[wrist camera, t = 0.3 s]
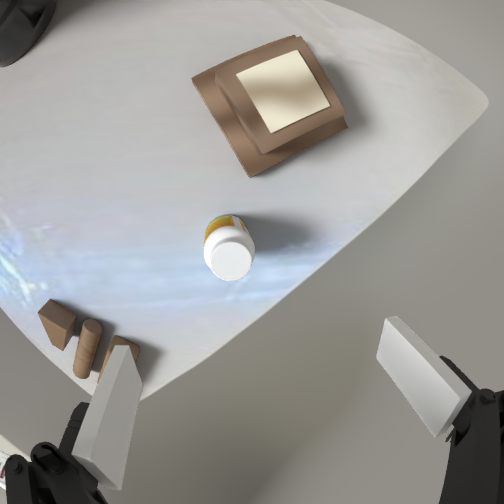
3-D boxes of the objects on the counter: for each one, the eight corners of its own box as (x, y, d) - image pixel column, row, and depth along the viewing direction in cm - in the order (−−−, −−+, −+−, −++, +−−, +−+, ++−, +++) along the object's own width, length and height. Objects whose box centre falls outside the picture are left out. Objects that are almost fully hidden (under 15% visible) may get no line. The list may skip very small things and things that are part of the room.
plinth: (192, 82, 28) (187, 63, 21) (290, 40, 27) (307, 17, 21) (248, 176, 33) (257, 181, 26) (341, 129, 32) (369, 124, 25)
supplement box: (17, 457, 52) (7, 487, 35) (34, 473, 57) (26, 501, 40) (-4, 448, 51) (-15, 474, 34) (12, 464, 55) (4, 489, 38)
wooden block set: (136, 364, 34) (111, 421, 38) (143, 341, 39) (117, 400, 43) (35, 309, 29) (32, 380, 33) (52, 292, 34) (43, 361, 38)
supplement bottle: (198, 246, 35) (194, 277, 26) (214, 207, 34) (215, 225, 25) (237, 260, 36) (245, 295, 27) (254, 223, 35) (268, 247, 26)
